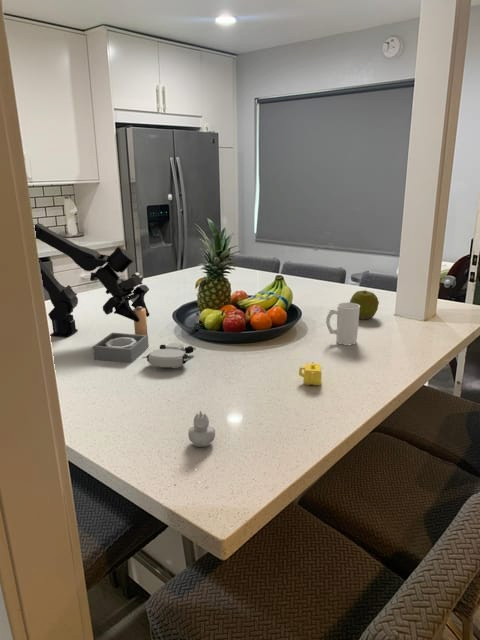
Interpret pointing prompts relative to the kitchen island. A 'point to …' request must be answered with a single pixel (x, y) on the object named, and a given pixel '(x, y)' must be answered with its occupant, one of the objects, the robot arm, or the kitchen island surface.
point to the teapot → (311, 373)
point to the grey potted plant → (201, 431)
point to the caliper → (197, 317)
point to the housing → (120, 347)
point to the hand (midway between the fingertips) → (143, 318)
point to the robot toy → (170, 355)
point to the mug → (345, 322)
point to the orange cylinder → (140, 321)
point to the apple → (365, 303)
